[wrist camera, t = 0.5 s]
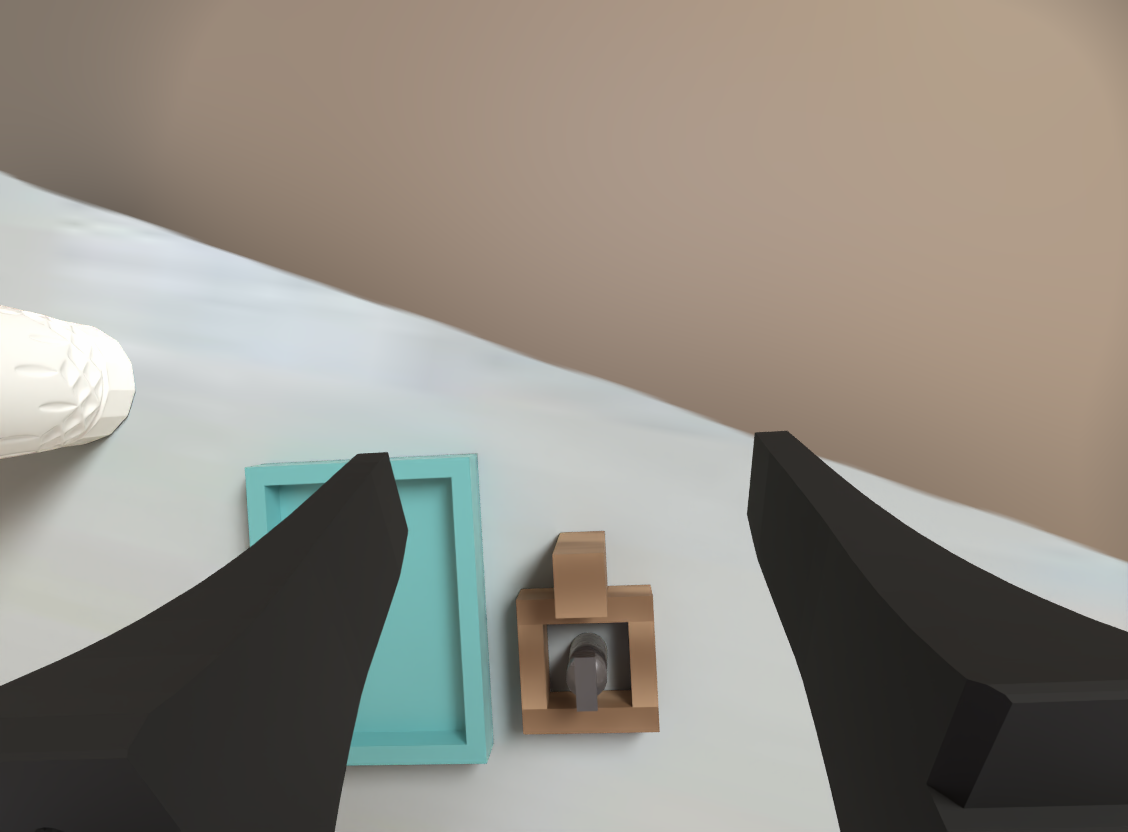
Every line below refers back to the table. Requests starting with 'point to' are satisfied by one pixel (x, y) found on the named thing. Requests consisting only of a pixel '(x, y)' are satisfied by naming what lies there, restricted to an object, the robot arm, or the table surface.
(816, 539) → the robot arm
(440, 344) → the table surface
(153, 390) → the table surface
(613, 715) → the collar
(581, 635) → the stake
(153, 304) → the table surface
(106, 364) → the white cup
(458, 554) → the tray
